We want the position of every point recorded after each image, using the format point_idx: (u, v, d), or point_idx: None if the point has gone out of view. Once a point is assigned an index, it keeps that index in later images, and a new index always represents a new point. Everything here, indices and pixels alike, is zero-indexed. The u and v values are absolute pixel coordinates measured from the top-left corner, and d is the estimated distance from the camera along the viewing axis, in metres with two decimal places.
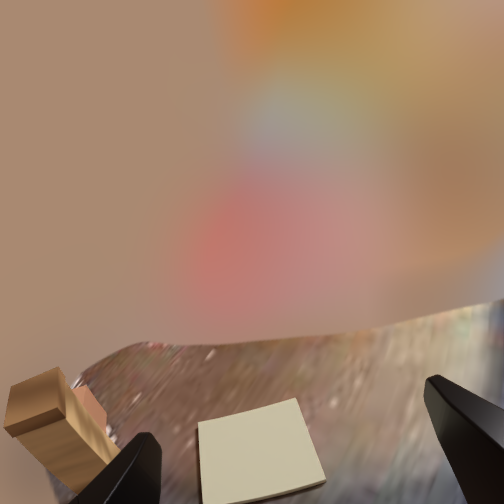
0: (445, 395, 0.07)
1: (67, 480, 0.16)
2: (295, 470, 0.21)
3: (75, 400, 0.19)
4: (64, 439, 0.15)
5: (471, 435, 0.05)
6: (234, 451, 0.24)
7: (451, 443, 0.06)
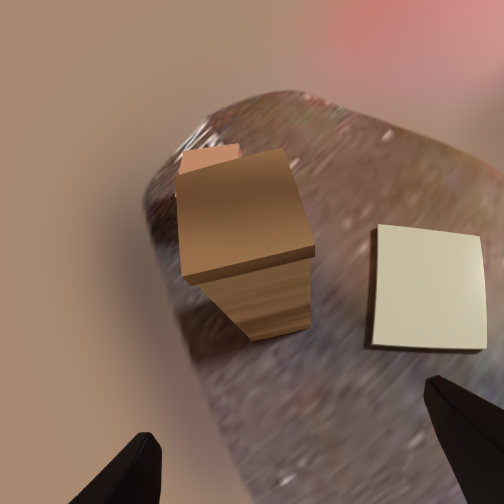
0: (445, 395, 0.07)
1: (238, 316, 0.17)
2: (466, 326, 0.20)
3: None
4: (281, 278, 0.14)
5: (471, 435, 0.05)
6: (416, 279, 0.23)
7: (451, 443, 0.06)
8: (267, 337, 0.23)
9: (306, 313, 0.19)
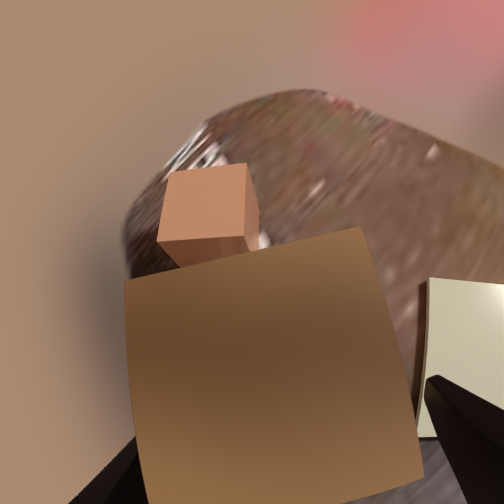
0: (445, 395, 0.07)
1: None
2: None
3: None
4: None
5: (471, 435, 0.05)
6: (472, 351, 0.15)
7: (451, 443, 0.06)
8: None
9: None
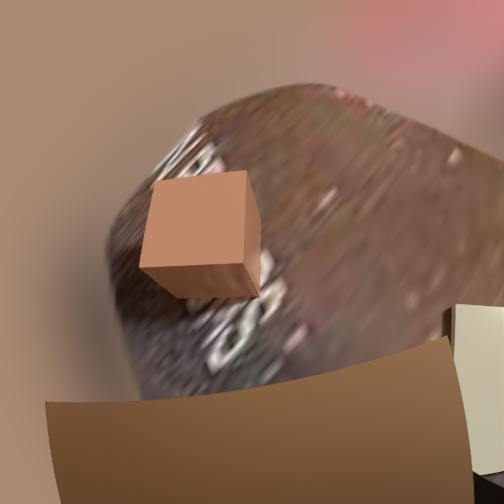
0: None
1: None
2: None
3: None
4: None
5: None
6: (497, 385, 0.12)
7: None
8: None
9: None
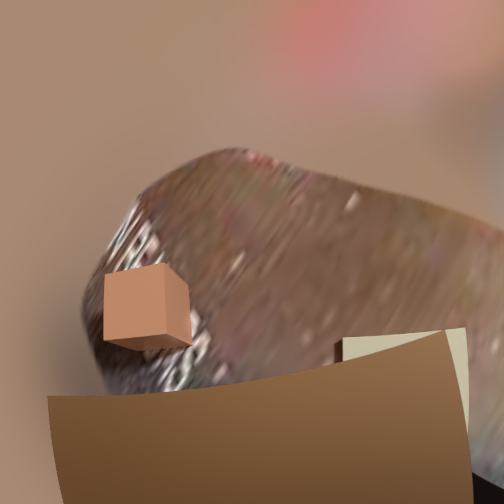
0: None
1: None
2: None
3: None
4: None
5: None
6: None
7: None
8: None
9: None
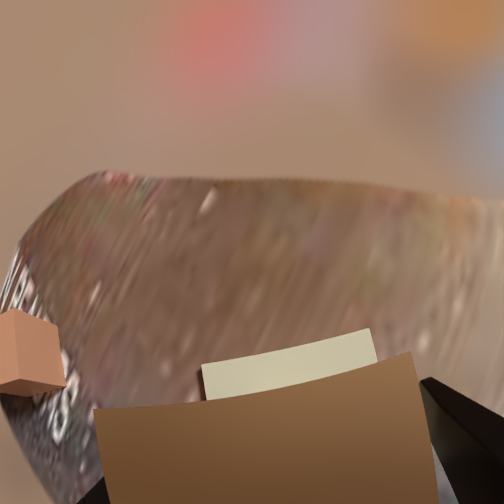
0: (437, 398, 0.07)
1: None
2: None
3: None
4: None
5: (463, 439, 0.05)
6: None
7: (444, 446, 0.06)
8: None
9: None
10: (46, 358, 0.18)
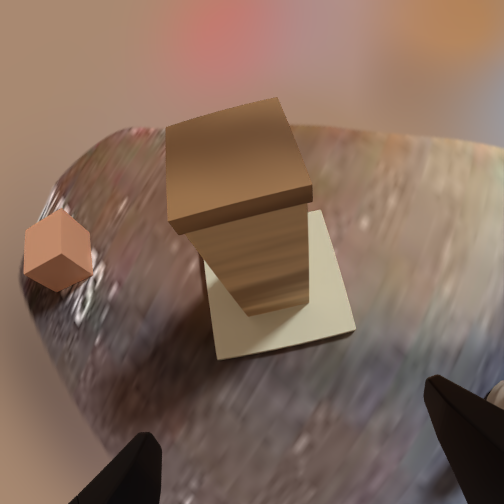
0: (445, 395, 0.07)
1: (232, 281, 0.16)
2: (322, 313, 0.22)
3: None
4: (277, 231, 0.13)
5: (471, 435, 0.05)
6: None
7: (451, 443, 0.06)
8: (264, 312, 0.23)
9: (305, 282, 0.18)
10: (80, 249, 0.27)
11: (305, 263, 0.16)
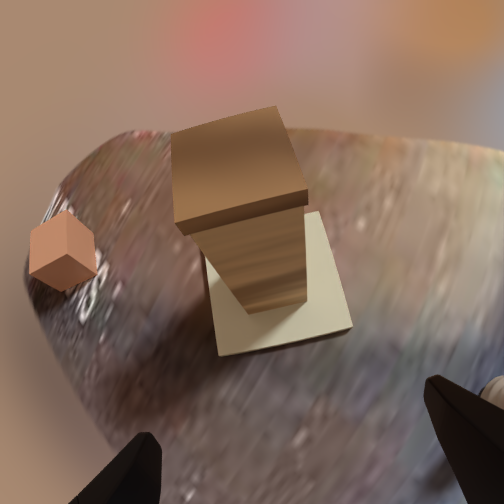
0: (445, 395, 0.07)
1: (233, 279, 0.17)
2: (320, 311, 0.23)
3: None
4: (276, 232, 0.13)
5: (471, 435, 0.05)
6: None
7: (451, 443, 0.06)
8: (264, 310, 0.23)
9: (302, 280, 0.19)
10: (85, 250, 0.28)
11: (302, 262, 0.17)
